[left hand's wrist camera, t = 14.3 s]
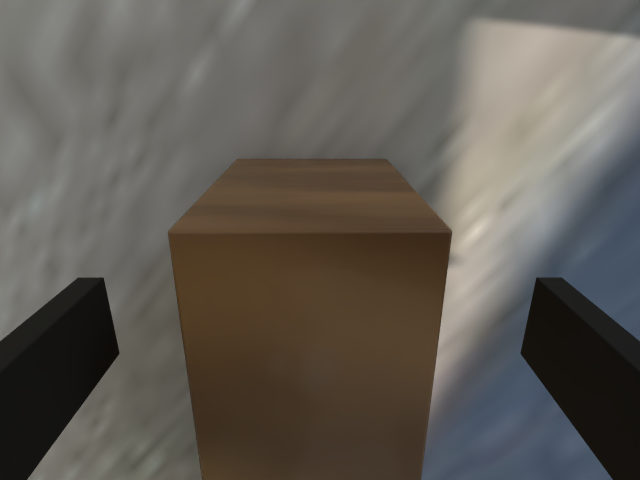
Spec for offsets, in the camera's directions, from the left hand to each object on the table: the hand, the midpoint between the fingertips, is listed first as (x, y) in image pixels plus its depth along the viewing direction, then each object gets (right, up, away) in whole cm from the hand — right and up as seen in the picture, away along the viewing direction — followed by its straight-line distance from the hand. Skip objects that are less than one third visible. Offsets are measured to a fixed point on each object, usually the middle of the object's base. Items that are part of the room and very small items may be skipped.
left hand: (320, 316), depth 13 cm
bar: (0, -10, +9) cm, 14 cm away
